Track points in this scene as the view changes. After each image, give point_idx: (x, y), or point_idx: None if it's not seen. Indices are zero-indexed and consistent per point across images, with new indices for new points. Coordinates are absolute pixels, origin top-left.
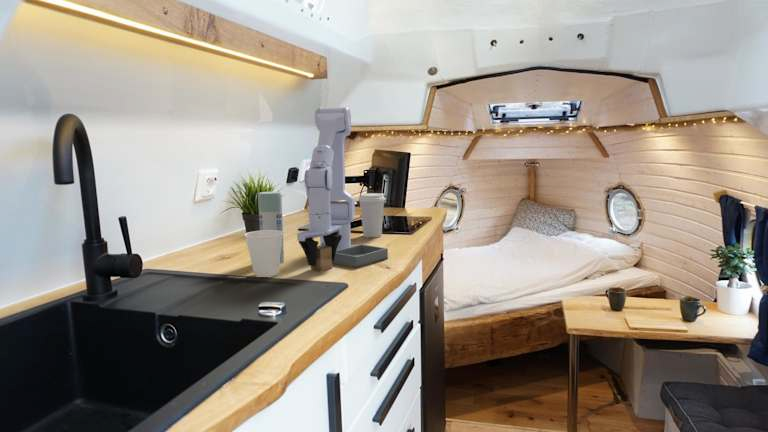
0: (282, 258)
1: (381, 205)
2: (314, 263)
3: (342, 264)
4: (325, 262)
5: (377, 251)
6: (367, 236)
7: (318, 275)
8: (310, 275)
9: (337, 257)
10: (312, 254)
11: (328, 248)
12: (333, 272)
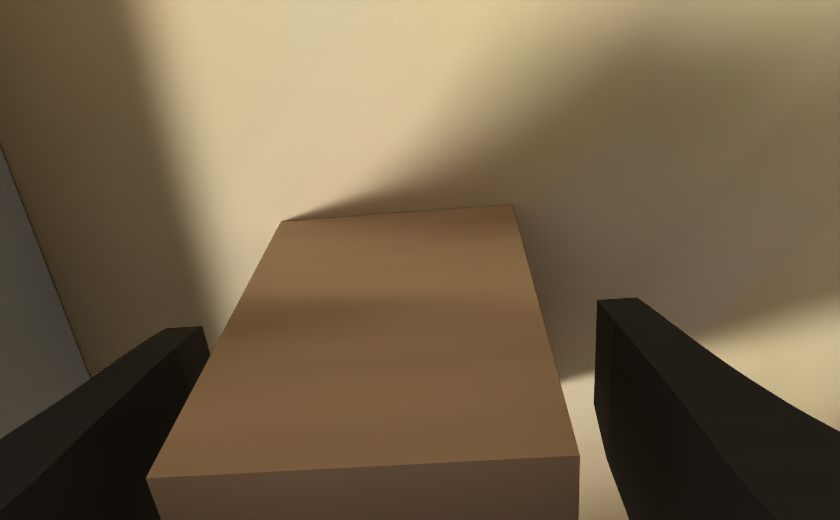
0: None
1: None
2: (647, 309)
3: (41, 262)
4: (414, 268)
5: None
6: None
7: (714, 51)
8: (781, 150)
9: (23, 410)
10: (793, 417)
11: (265, 455)
12: (418, 8)
